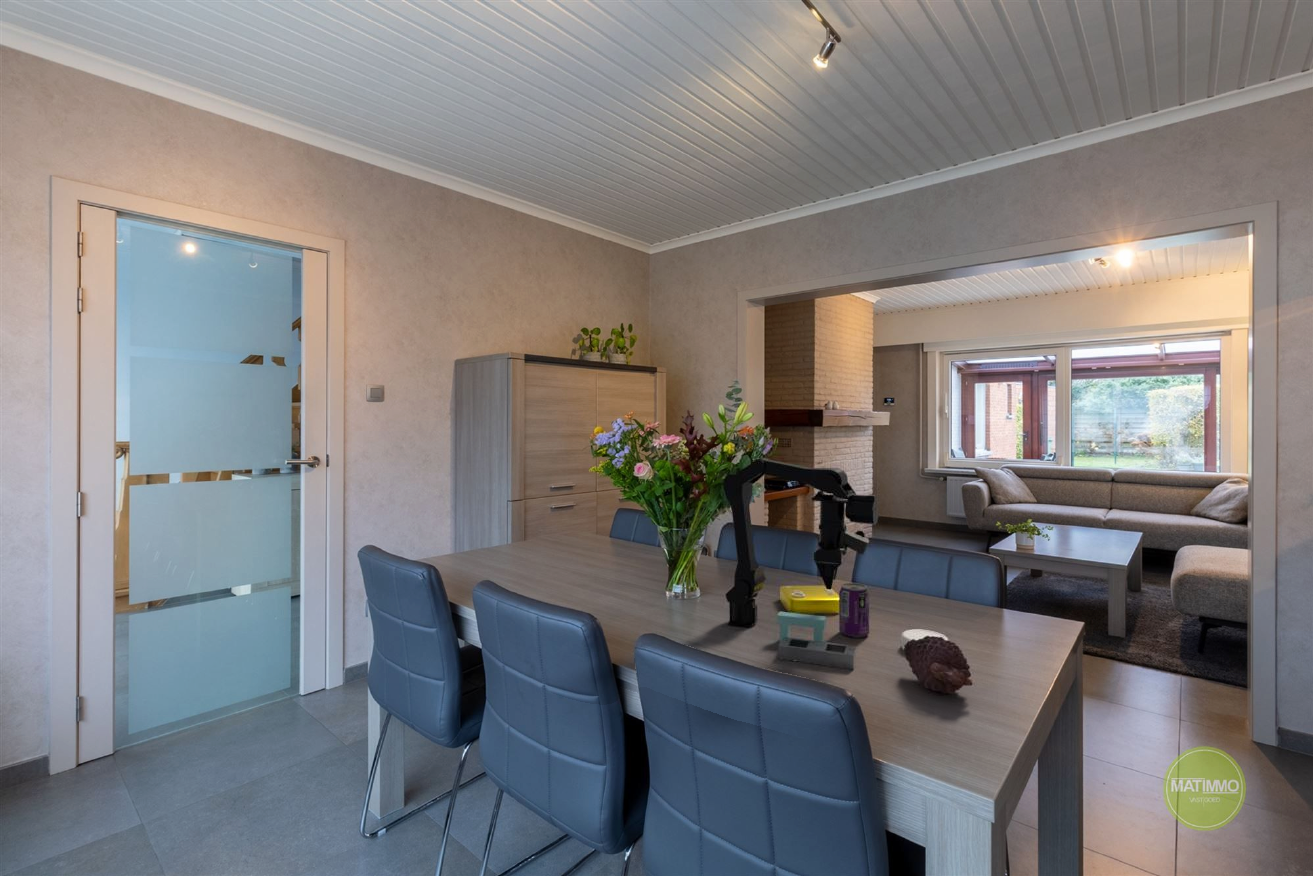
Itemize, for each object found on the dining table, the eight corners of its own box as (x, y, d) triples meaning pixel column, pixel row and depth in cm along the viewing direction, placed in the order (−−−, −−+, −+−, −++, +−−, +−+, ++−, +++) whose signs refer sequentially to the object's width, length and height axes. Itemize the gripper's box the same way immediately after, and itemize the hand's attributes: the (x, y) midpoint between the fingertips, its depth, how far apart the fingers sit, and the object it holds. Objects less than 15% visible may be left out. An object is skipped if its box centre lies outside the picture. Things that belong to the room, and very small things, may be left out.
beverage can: (871, 639, 146) (871, 590, 146) (840, 638, 147) (840, 589, 147) (867, 630, 153) (866, 583, 153) (838, 628, 154) (837, 581, 154)
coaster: (921, 661, 133) (921, 645, 133) (892, 645, 143) (892, 630, 143) (958, 656, 136) (958, 640, 136) (927, 641, 145) (927, 626, 145)
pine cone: (888, 672, 127) (888, 625, 127) (929, 668, 129) (929, 621, 129) (944, 711, 109) (944, 656, 109) (992, 705, 111) (992, 651, 111)
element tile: (843, 615, 167) (843, 597, 166) (789, 615, 167) (789, 598, 167) (828, 599, 182) (828, 583, 181) (778, 599, 182) (778, 584, 182)
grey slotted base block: (778, 658, 135) (778, 645, 134) (783, 649, 140) (783, 636, 140) (853, 669, 128) (853, 655, 128) (856, 659, 134) (856, 646, 134)
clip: (777, 641, 145) (777, 615, 145) (780, 637, 148) (779, 611, 148) (824, 648, 141) (824, 620, 141) (826, 643, 144) (825, 616, 143)
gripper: (865, 529, 134) (863, 598, 135) (869, 517, 152) (867, 578, 152) (813, 525, 139) (812, 592, 139) (823, 513, 156) (822, 573, 156)
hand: (830, 584), depth 147 cm, fingers open, 9 cm apart
